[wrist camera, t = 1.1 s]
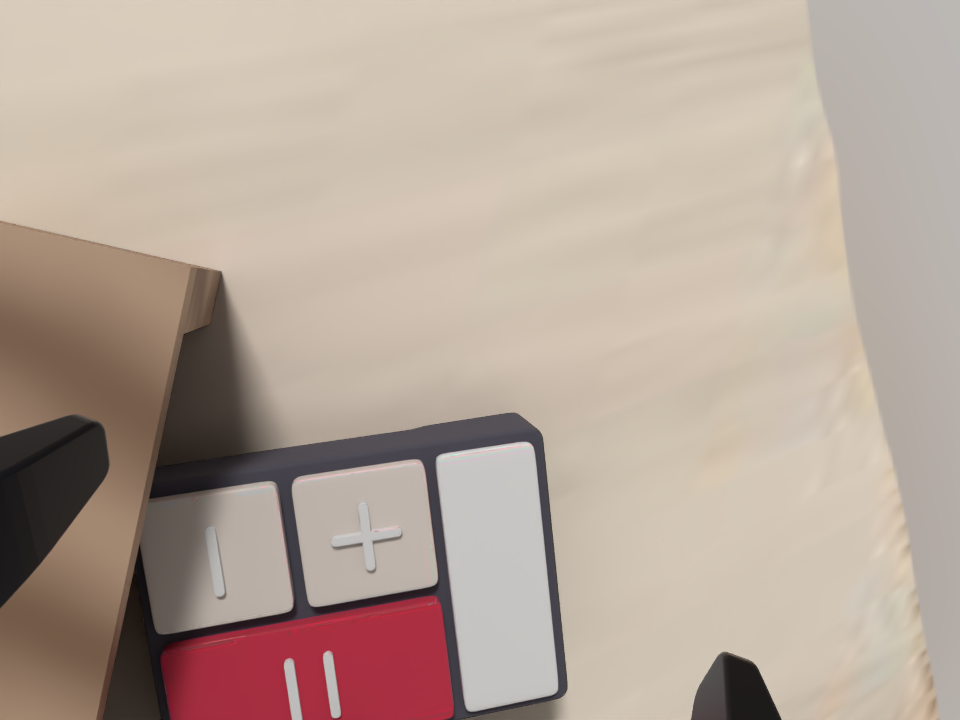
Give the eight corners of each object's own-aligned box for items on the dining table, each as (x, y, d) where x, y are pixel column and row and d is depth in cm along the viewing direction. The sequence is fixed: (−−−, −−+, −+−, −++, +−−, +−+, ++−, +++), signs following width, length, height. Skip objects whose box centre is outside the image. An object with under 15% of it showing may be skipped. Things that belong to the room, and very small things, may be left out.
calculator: (111, 495, 24) (548, 430, 27) (147, 463, 28) (521, 409, 31) (165, 797, 26) (576, 709, 28) (191, 724, 30) (546, 653, 32)
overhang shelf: (104, 825, 28) (36, 1001, 21) (-133, 813, 26) (-292, 1003, 19) (221, 271, 27) (191, 267, 20) (-17, 217, 25) (-141, 191, 18)
